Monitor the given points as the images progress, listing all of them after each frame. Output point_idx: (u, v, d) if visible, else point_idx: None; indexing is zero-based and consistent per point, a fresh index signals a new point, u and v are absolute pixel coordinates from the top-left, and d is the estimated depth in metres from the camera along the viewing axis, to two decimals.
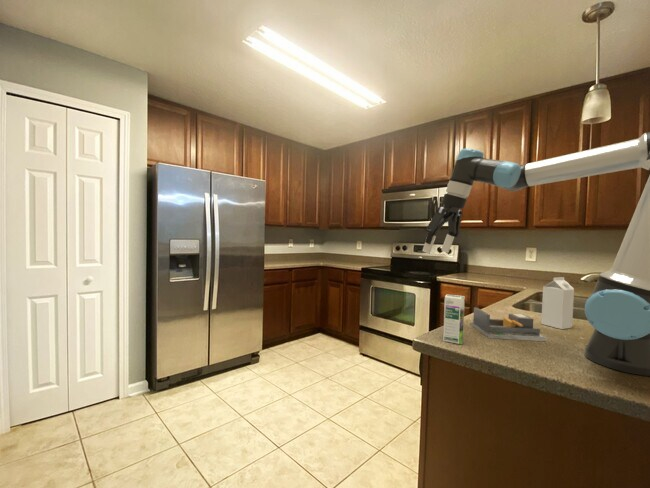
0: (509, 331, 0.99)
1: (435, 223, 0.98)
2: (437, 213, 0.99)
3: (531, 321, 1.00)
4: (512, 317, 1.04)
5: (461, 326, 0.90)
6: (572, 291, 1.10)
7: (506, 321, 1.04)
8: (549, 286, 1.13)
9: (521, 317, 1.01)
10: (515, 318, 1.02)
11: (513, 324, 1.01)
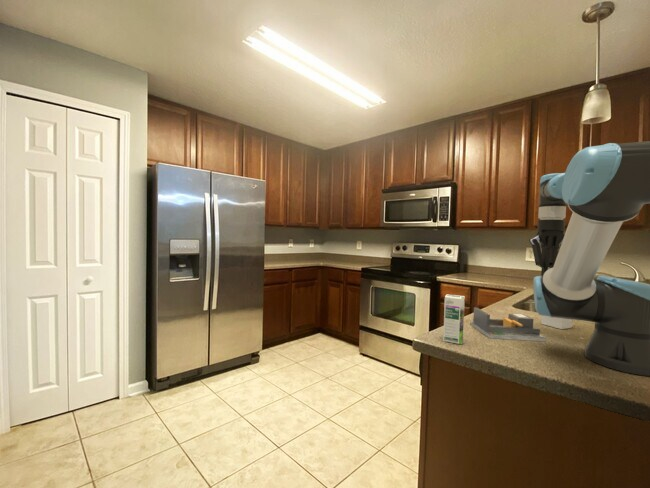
0: (509, 331, 0.99)
1: (537, 256, 1.01)
2: (533, 246, 1.03)
3: (531, 321, 1.00)
4: (512, 317, 1.04)
5: (461, 326, 0.90)
6: None
7: (506, 321, 1.04)
8: None
9: (521, 317, 1.01)
10: (515, 318, 1.02)
11: (513, 324, 1.01)
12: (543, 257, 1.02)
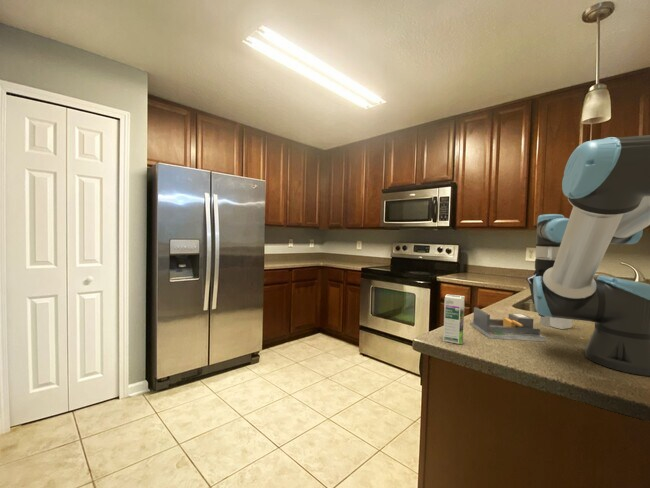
0: (509, 331, 0.99)
1: (534, 295, 1.02)
2: (530, 284, 1.03)
3: (531, 321, 1.00)
4: (512, 317, 1.04)
5: (461, 326, 0.90)
6: None
7: (506, 321, 1.04)
8: None
9: (521, 317, 1.01)
10: (515, 318, 1.02)
11: (513, 324, 1.01)
12: None
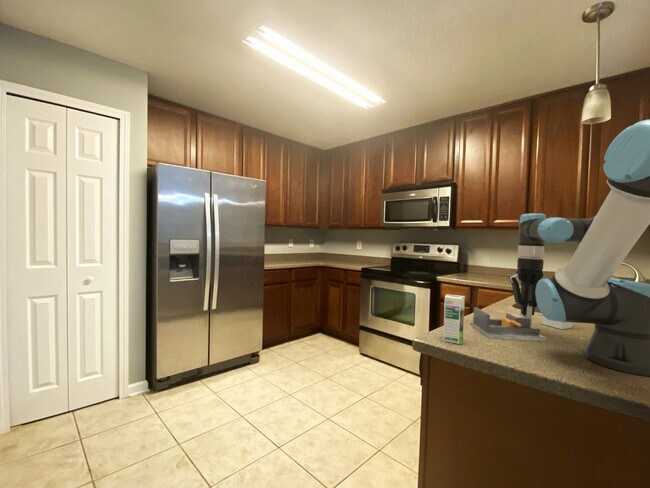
0: (509, 331, 0.99)
1: (516, 294, 1.03)
2: (512, 283, 1.04)
3: (528, 321, 1.00)
4: (509, 317, 1.04)
5: (461, 326, 0.90)
6: None
7: (505, 321, 1.04)
8: None
9: (518, 317, 1.01)
10: (512, 318, 1.02)
11: (512, 324, 1.01)
12: (522, 295, 1.03)
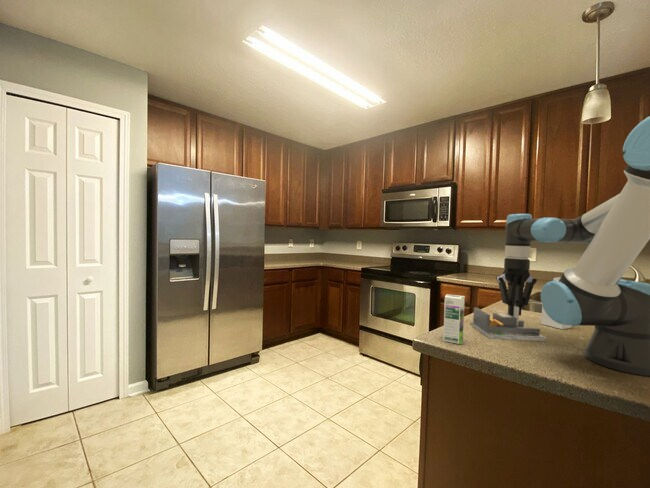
0: (509, 331, 0.99)
1: (503, 294, 1.02)
2: (499, 283, 1.04)
3: (514, 320, 1.00)
4: (496, 316, 1.04)
5: (461, 326, 0.90)
6: None
7: None
8: None
9: (505, 316, 1.02)
10: (499, 317, 1.02)
11: (494, 323, 1.02)
12: (509, 295, 1.03)
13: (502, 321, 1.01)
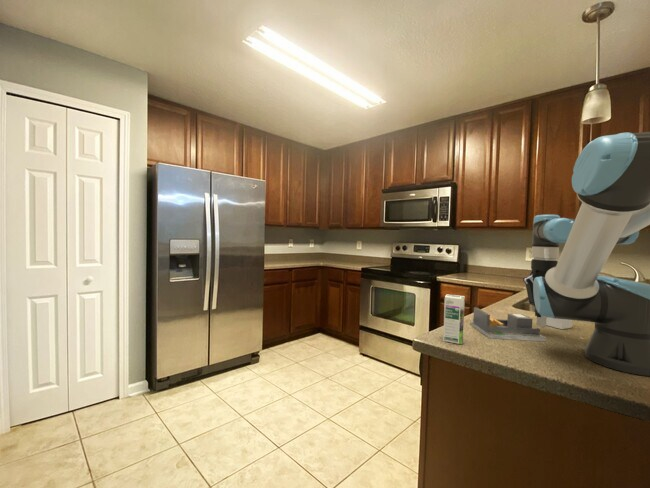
0: (509, 331, 0.99)
1: (531, 295, 1.02)
2: (526, 285, 1.03)
3: (530, 321, 1.00)
4: (511, 317, 1.04)
5: (461, 326, 0.90)
6: None
7: None
8: None
9: (520, 317, 1.01)
10: (514, 318, 1.02)
11: (494, 323, 1.02)
12: None
13: (518, 322, 1.00)
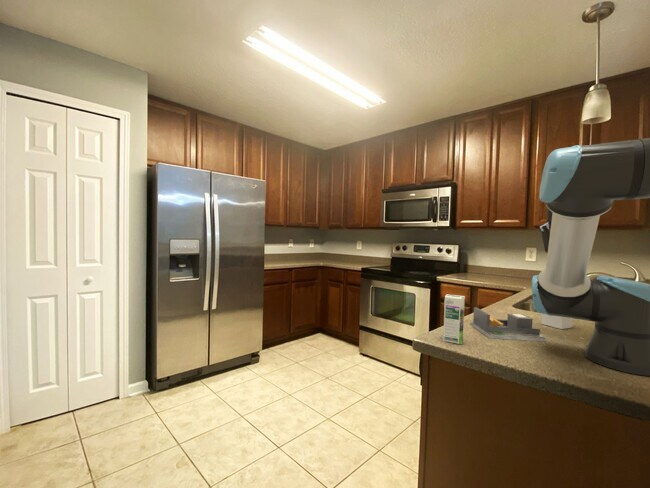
0: (509, 331, 0.99)
1: (547, 242, 1.02)
2: (542, 232, 1.03)
3: (530, 321, 1.00)
4: (511, 317, 1.04)
5: (461, 326, 0.90)
6: None
7: None
8: None
9: (520, 317, 1.01)
10: (514, 318, 1.02)
11: (494, 323, 1.02)
12: None
13: (518, 322, 1.00)
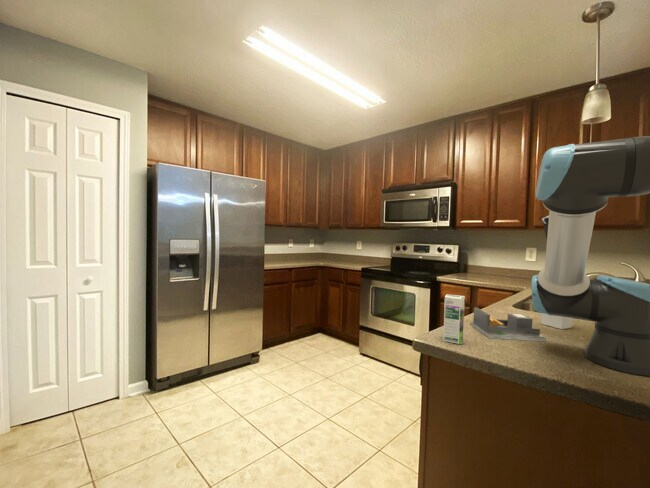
0: (509, 331, 0.99)
1: None
2: (544, 225, 1.04)
3: (530, 321, 1.00)
4: (511, 317, 1.04)
5: (461, 326, 0.90)
6: None
7: None
8: None
9: (520, 317, 1.01)
10: (514, 318, 1.02)
11: (494, 323, 1.02)
12: None
13: (518, 322, 1.00)
